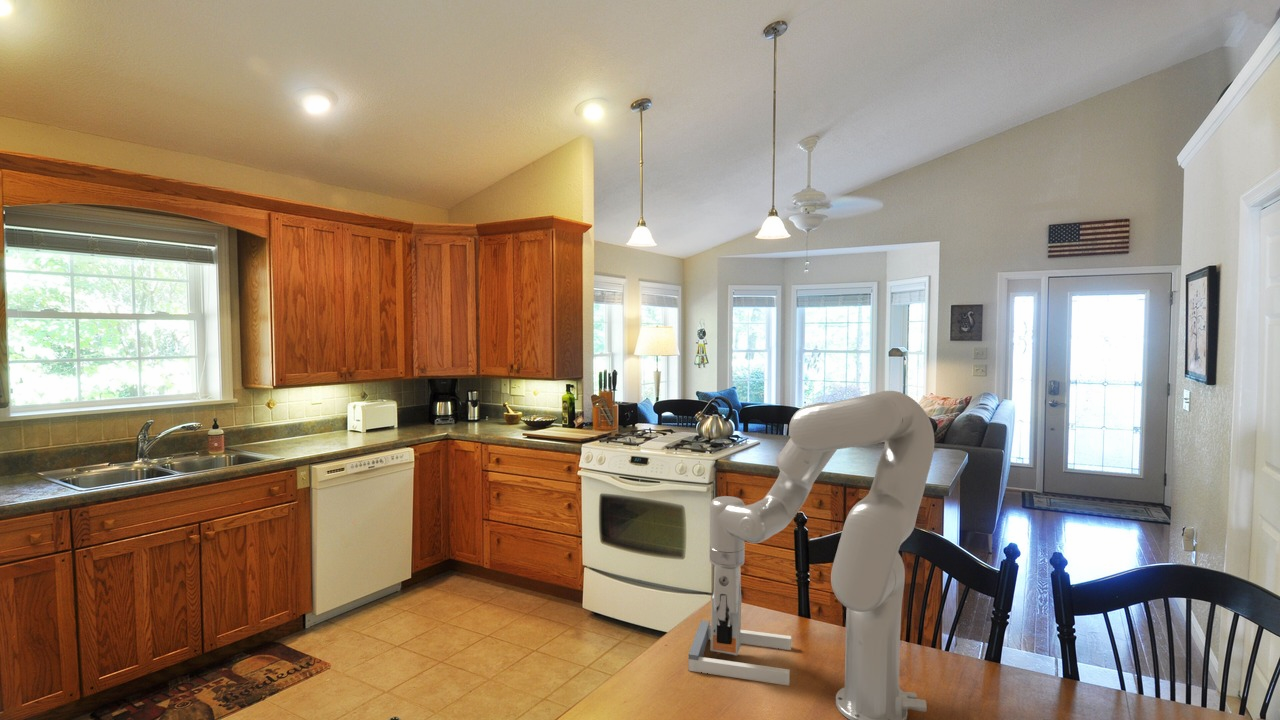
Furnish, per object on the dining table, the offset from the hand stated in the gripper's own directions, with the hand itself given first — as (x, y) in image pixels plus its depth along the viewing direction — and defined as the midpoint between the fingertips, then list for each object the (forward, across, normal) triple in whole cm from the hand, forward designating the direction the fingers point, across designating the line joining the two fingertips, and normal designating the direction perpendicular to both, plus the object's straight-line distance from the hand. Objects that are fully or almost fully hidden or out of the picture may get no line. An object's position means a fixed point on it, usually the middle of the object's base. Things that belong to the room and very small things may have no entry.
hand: (725, 636), depth 135 cm
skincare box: (+3, 0, 0) cm, 3 cm away
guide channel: (+4, 0, -4) cm, 6 cm away
